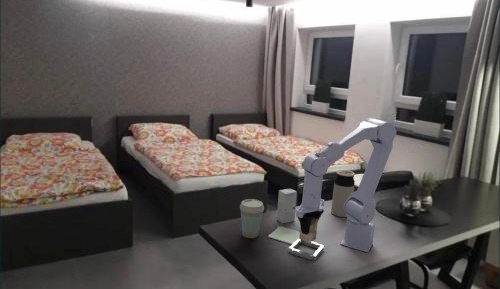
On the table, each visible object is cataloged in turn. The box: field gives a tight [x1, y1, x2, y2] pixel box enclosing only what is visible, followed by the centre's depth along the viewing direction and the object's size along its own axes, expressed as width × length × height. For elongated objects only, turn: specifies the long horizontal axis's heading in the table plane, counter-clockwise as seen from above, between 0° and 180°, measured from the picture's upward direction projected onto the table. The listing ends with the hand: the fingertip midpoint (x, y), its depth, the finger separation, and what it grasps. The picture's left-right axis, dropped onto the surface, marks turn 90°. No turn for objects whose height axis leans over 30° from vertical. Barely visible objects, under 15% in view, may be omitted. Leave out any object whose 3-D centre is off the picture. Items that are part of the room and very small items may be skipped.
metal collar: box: [288, 238, 325, 261], centre depth 125 cm, size 9×9×2 cm
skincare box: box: [276, 188, 298, 224], centre depth 147 cm, size 6×4×12 cm
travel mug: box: [330, 169, 356, 218], centre depth 156 cm, size 8×8×18 cm
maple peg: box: [299, 218, 319, 243], centre depth 124 cm, size 4×4×7 cm
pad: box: [267, 225, 300, 246], centre depth 135 cm, size 10×10×1 cm
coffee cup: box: [239, 198, 265, 239], centre depth 133 cm, size 9×9×12 cm
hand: (308, 231), depth 124 cm, fingers closed on maple peg, 4 cm apart
